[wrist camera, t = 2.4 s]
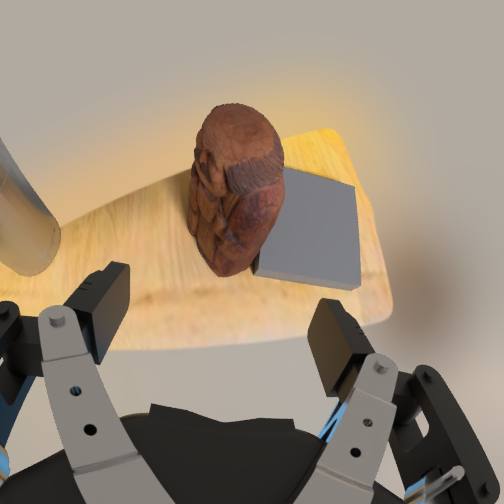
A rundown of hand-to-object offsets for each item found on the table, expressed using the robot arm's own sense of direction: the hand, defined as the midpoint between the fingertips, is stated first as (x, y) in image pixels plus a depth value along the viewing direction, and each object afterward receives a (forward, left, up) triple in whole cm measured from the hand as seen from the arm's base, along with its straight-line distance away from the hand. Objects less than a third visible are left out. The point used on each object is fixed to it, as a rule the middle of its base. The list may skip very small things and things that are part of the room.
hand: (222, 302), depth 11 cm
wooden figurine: (0, +12, -20) cm, 23 cm away
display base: (+11, +16, -20) cm, 27 cm away
